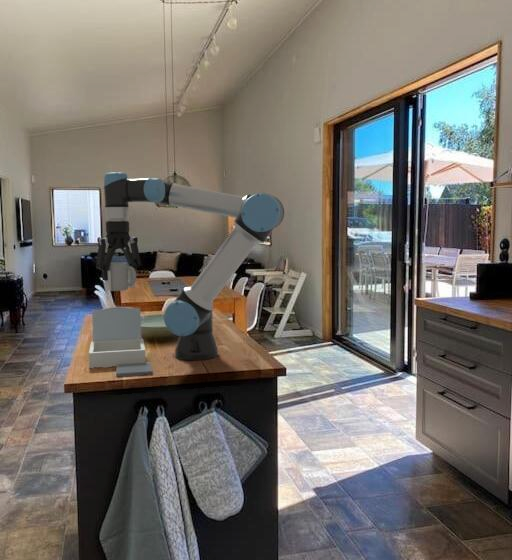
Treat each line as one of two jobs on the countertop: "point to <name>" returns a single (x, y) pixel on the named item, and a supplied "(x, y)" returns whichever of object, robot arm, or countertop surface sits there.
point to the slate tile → (133, 369)
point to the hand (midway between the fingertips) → (120, 288)
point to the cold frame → (116, 338)
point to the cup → (121, 276)
